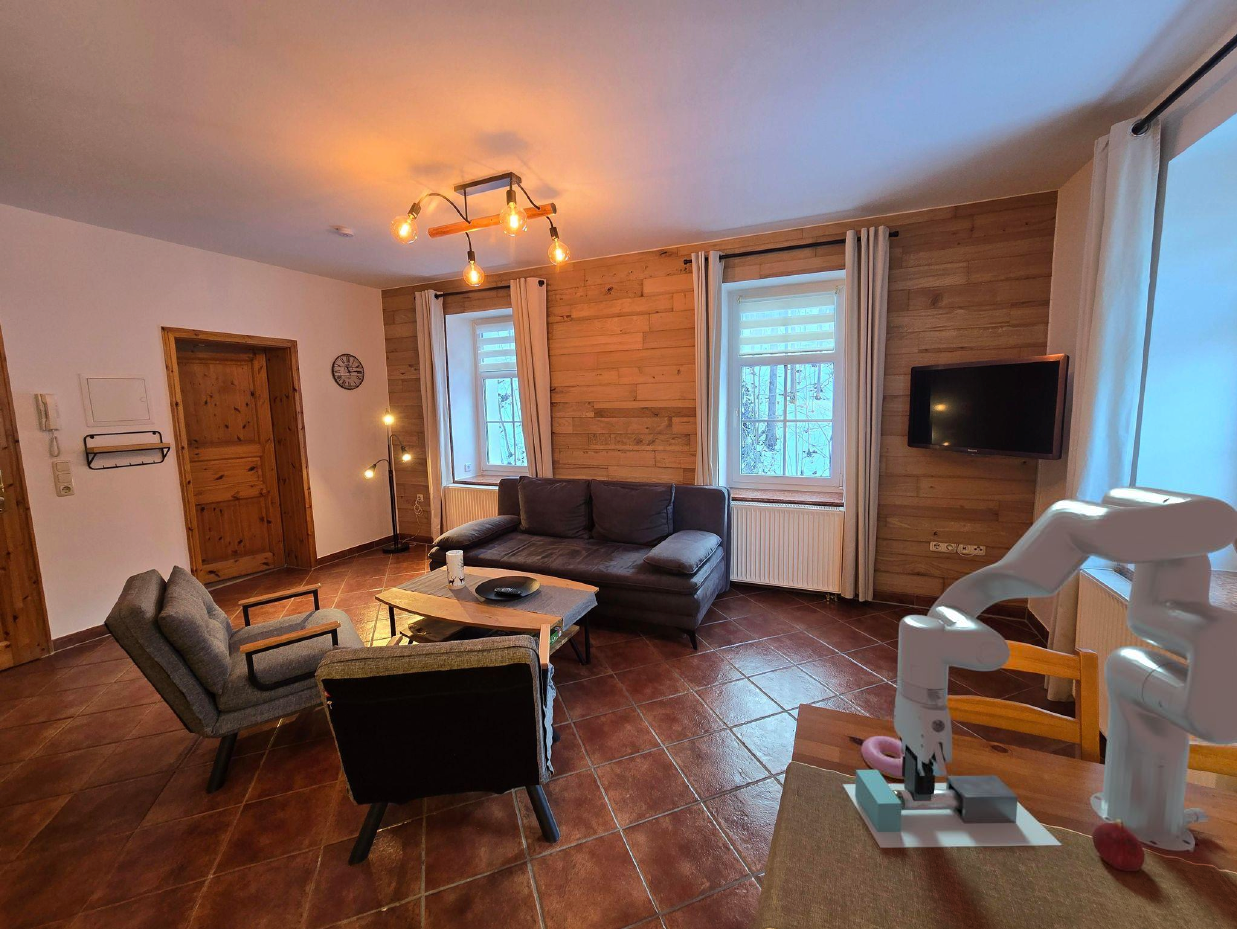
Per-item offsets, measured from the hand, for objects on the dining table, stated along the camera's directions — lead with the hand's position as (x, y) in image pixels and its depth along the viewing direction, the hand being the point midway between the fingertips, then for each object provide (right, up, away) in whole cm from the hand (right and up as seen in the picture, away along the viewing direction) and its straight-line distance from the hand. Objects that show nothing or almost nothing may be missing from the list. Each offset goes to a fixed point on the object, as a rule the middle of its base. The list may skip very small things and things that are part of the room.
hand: (917, 784), depth 88 cm
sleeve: (+11, -5, 0) cm, 13 cm away
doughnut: (+3, -6, +14) cm, 15 cm away
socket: (-7, -6, +1) cm, 9 cm away
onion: (+26, -7, -9) cm, 29 cm away
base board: (+5, -7, +1) cm, 8 cm away
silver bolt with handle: (+5, -4, 0) cm, 7 cm away
